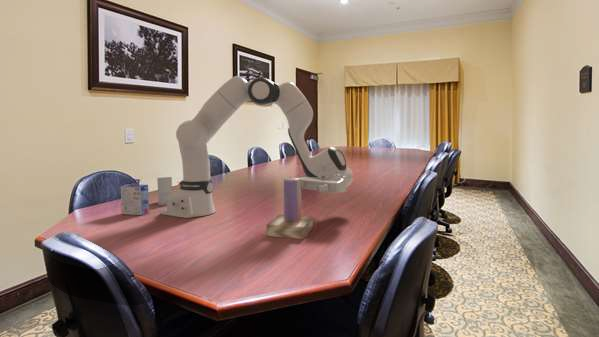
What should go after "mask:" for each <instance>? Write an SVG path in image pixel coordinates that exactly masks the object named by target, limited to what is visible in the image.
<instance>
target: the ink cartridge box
mask: <svg viewBox="0 0 599 337" xmlns="http://www.w3.org/2000/svg"><path fill="white" fill-rule="evenodd" d="M140 181H141V179H139V178H138V179H137V178H135V179H134V178H132V180H131V183H130V184H124V185H121V186H120V200H121V205H120V206H121V214H122V215H129V216H130V215H131V216H143V215H146V214H149V213H150V198H149V185H148V184H140Z"/></svg>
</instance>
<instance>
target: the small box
mask: <svg viewBox="0 0 599 337" xmlns="http://www.w3.org/2000/svg"><path fill="white" fill-rule="evenodd" d="M156 178H157V180H156V182H157V202H158V206H167V201H168V199H169V198H170V197H171V196H172V195H173V182H172V181H173V180H172V174H164V175H163V174H160V175H157V176H156Z"/></svg>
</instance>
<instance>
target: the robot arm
mask: <svg viewBox="0 0 599 337" xmlns="http://www.w3.org/2000/svg"><path fill="white" fill-rule="evenodd" d="M246 102H252V103H253V104H254V105H256V106H258V107H269V106H272V104H274V105H277V106H278V107H279V108H280V109H281V111H282V113H283V115H284V116H285V118H286V120H287V123H288V128H287V132H288V136H289V138H290V141H291V144H292V146H293V148H294V150H295V152H296V155H297V157H298V159H299V161H300V164H301V167H302V170H303V173H304V176H302V177H299V178H300V180H301V189H305V190H312V191H313V190H314V191H317V192H321V193H323V194H325V195H326V194H332V193H340V194H341V193H346V192H347V187H350V185H351V184H352V182H353V180H354V173H353V171H352V169H350V168H349V167H348V166H347V161H346V157H345V155H344V153H343V152H342V151H341V150H340V149H339V148H337V147H333V146H329V147H327V148H326V149H323V150H322V151H320V152H319V153H317V154H315V155H312V154H311V152H310V150H309V147H308V145H307V142H306V140H305V134H306V131H307V129H308V128H309V126H310V125H311V123H312V121H313V118H314V111H313V108H312V106H311V104H310V103H309V100H308V99H307V98H306V96H305V95H304V94H303V93H302V91H301V90H300V89H299V88H298V87H297V85H295V83H293V82H291V81H285V82H283V83H281V84H280V85H279V84H278V83H276V82H274V81H272V80H270V79H268V78H266V77H257V78H255V79H253V80H251V82H249V81H247V80H246V78H244V77H242V76H239V75H235V76H233V77H231V78H230V79H228V80H227V81H226V82H225V83H223V84H222V85H221V86H220V87H219V88H218V89H217V90H216V91H215V92H214V93H213V94H212V95H211V96H210V97H209V98H208V99H207V100H206V101H205V102H204V104H203V105H202V106H201V108H200V109H199V111H198V112H197V114H196V115H195V116H194V117H193V118H192V119H190V120H185V121H184V122H183V121H182V123H181V124H180V125H179V126H178V127H177V129H176V132H175V137H176V140H177V142H178V148H179V153H180V157H181V163H182V177H183V179H182V180H181V181H178V182H177V186H180V187H179V189H178V190H177V191H175V192H174V193H172V196H171V197H170V198H169V199H168V201H167V205H166V207H165V208H164V209H162V210H161V212H160V213H161V214H160V215H164V216H171V217H176V218H177V217H178V218H184V219H190V218H194V217H195V218H196V217H202V216H203V217H204V216H210V215H213V214H214V213H216V208H215V204H214V200H213V199H214V198H213V194H212V192H213V181H212V178H211V161H210V158H209V153H208V146H207V144H208V143H209V142H210V141H211V139H213V137H215V135H216V133H218V132H219V130H220V129H221V128H222V126H223V125H224V124H225V123H226V122H227V121H228V120H229V119H230V118H231V117H232V115H234V114H235V113H236V112H237V111H238V109H240V107H241V106H242V105H243V104H244V103H246Z"/></svg>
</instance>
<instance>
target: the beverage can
mask: <svg viewBox="0 0 599 337" xmlns="http://www.w3.org/2000/svg"><path fill="white" fill-rule="evenodd" d="M300 178H301V177H298V176H297V177H296V176H290V177H289V176H287V177H285V178H284V179H283V215H284V220H285V221H286V222H288V223H296V222H299V221H300V220H301V216H302V188H301V180H300Z"/></svg>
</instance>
